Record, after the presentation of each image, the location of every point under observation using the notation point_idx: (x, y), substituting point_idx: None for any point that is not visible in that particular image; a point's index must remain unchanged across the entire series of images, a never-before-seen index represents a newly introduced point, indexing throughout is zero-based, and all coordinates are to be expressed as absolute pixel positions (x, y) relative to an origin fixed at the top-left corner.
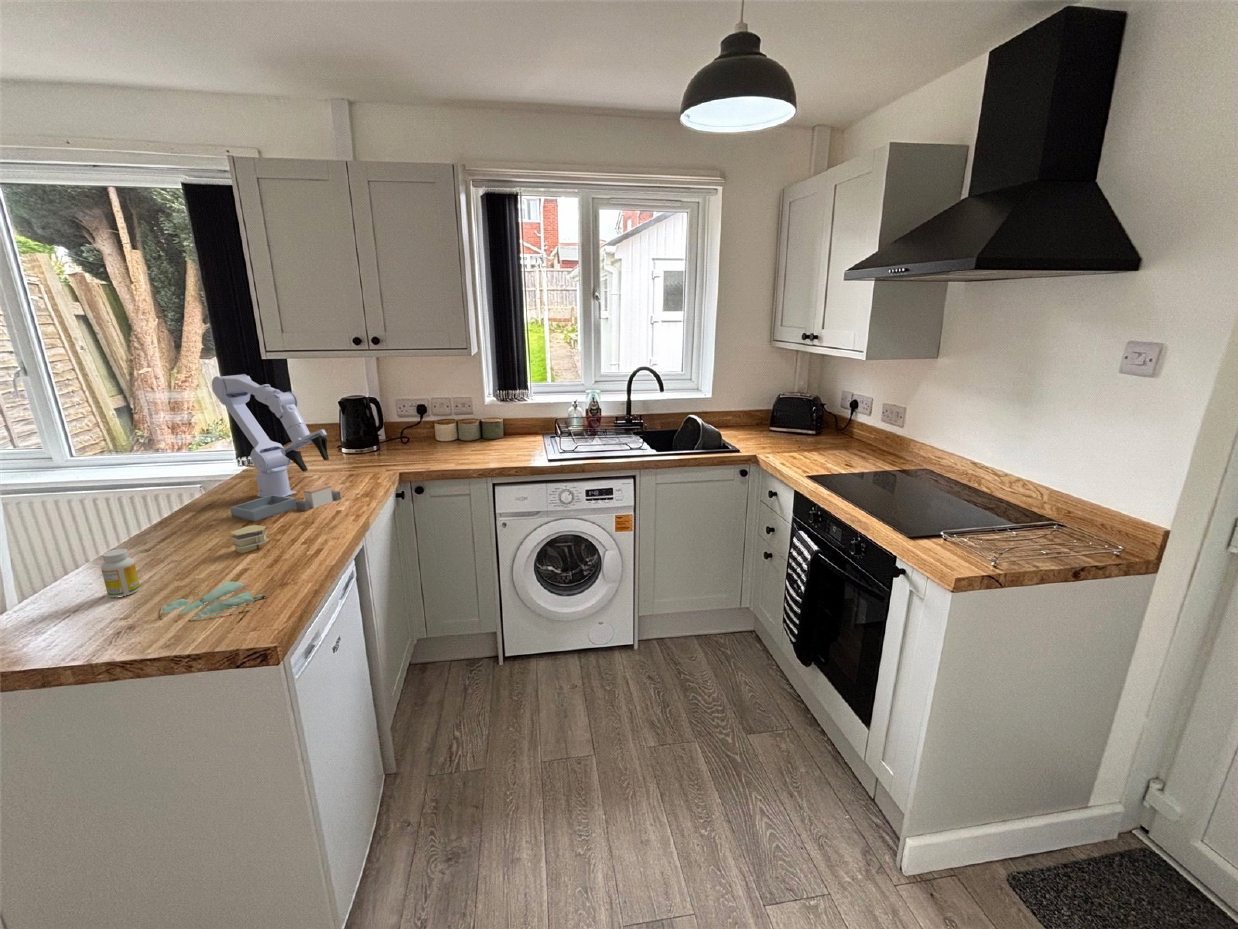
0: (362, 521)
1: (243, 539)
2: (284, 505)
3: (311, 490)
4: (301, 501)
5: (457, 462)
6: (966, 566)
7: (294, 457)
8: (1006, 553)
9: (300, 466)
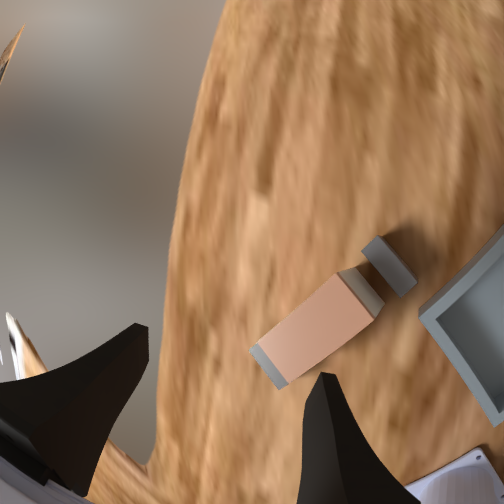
0: (205, 73)
1: None
2: (462, 273)
3: (335, 300)
4: (393, 275)
5: None
6: (20, 31)
7: (344, 467)
8: (10, 47)
9: (333, 397)
